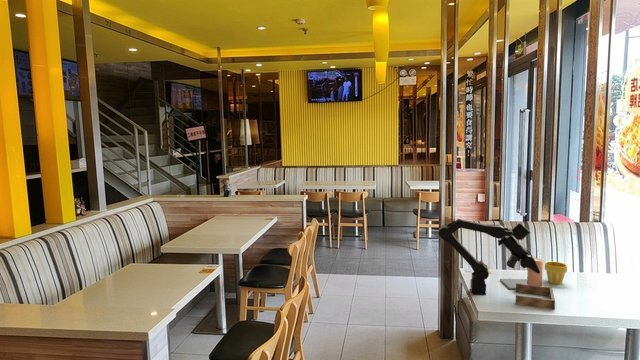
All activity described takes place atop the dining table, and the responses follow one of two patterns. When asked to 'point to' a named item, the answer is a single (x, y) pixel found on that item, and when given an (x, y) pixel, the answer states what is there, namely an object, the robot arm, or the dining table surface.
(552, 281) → the plant pot
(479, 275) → the robot arm
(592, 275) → the dining table surface
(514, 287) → the slate mat
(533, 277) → the candle
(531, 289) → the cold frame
